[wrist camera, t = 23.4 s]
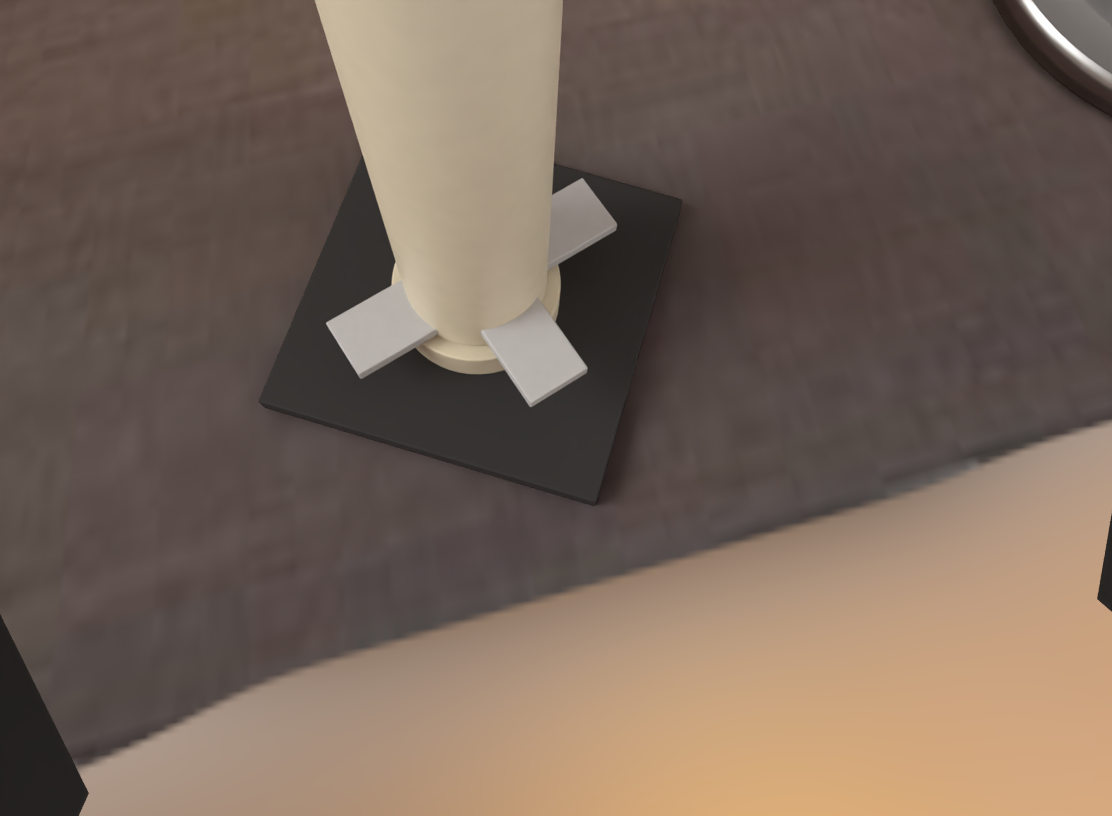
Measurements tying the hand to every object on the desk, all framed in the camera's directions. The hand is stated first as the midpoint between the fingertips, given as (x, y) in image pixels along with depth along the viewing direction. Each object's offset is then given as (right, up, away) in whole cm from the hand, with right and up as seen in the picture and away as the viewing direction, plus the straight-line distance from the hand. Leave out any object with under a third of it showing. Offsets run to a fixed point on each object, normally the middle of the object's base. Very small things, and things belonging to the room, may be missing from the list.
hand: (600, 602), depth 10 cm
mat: (-3, +5, +16) cm, 17 cm away
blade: (-3, +6, +15) cm, 17 cm away
